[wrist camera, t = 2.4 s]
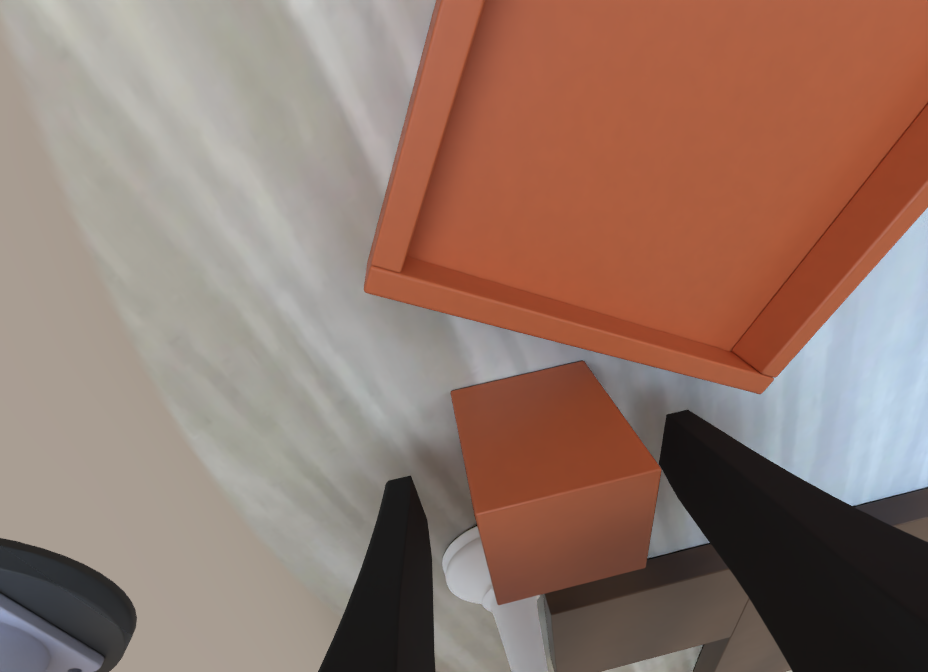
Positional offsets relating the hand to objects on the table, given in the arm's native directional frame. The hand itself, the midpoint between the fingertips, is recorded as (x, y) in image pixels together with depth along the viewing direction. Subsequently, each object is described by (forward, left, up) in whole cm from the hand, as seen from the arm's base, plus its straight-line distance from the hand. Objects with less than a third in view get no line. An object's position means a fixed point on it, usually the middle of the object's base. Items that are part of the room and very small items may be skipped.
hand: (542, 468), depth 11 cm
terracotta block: (0, 0, -2) cm, 2 cm away
